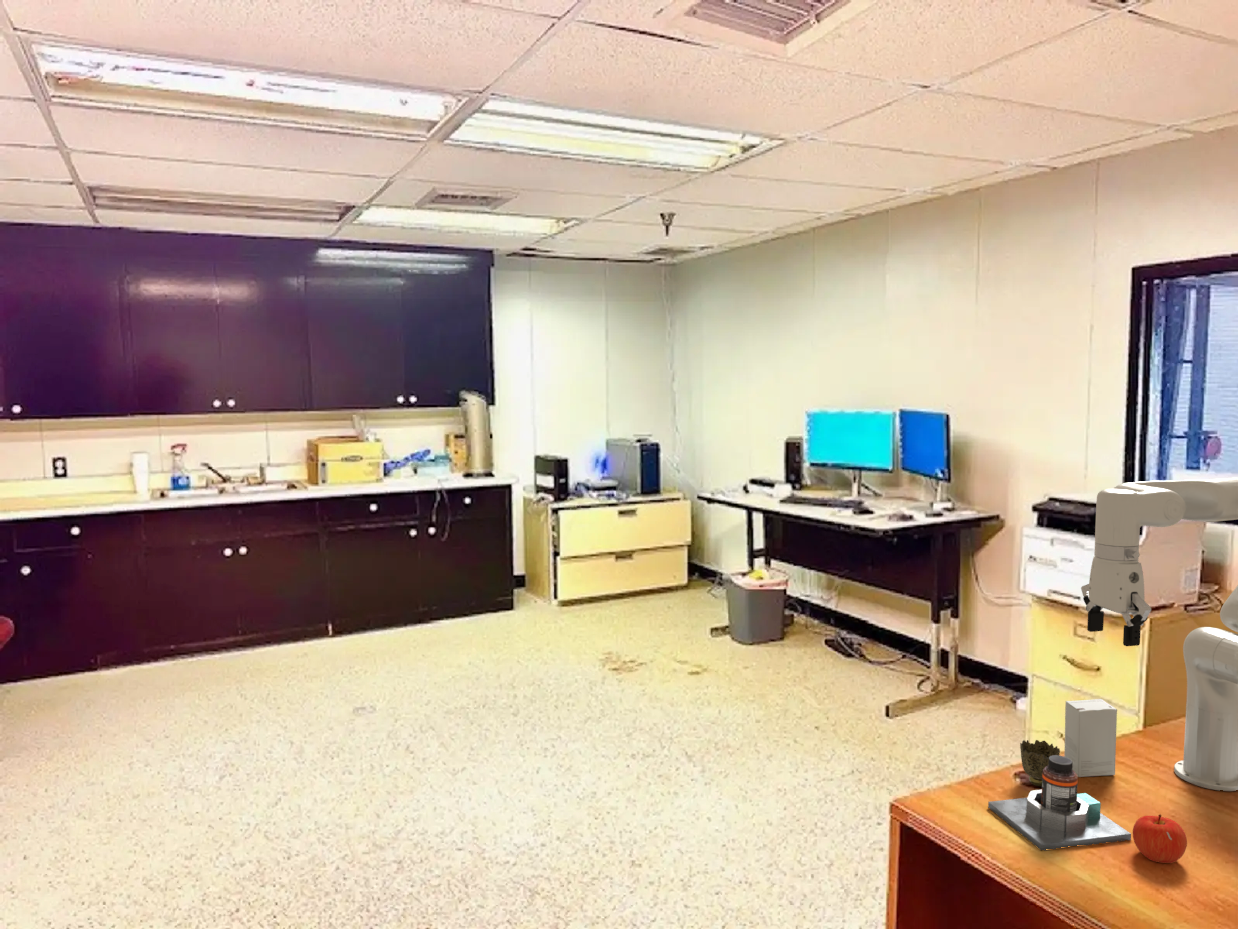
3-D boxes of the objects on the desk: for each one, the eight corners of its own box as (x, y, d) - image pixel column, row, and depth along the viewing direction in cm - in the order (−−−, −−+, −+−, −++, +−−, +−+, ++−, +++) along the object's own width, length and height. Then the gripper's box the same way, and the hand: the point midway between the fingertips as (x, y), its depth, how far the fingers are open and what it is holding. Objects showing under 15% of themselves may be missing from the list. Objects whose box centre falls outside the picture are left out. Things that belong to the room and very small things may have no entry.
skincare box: (1099, 764, 189) (1102, 697, 187) (1116, 777, 183) (1119, 708, 181) (1061, 765, 189) (1064, 698, 187) (1077, 778, 183) (1079, 709, 181)
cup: (1050, 776, 184) (1051, 739, 183) (1064, 792, 176) (1066, 754, 176) (1013, 775, 184) (1014, 738, 184) (1026, 791, 177) (1027, 753, 176)
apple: (1194, 872, 148) (1196, 827, 147) (1142, 868, 149) (1144, 824, 148) (1173, 847, 156) (1175, 804, 155) (1124, 844, 157) (1126, 801, 156)
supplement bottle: (1044, 806, 169) (1046, 749, 167) (1078, 815, 165) (1081, 757, 164) (1037, 818, 164) (1040, 760, 163) (1072, 828, 160) (1075, 769, 159)
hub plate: (1070, 798, 174) (1071, 778, 174) (1130, 840, 158) (1131, 818, 158) (988, 807, 171) (988, 787, 170) (1041, 851, 155) (1042, 828, 155)
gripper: (1168, 560, 163) (1164, 650, 164) (1101, 543, 180) (1098, 624, 181) (1132, 562, 161) (1128, 653, 163) (1068, 545, 178) (1066, 627, 180)
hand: (1112, 638), depth 172 cm, fingers open, 9 cm apart
